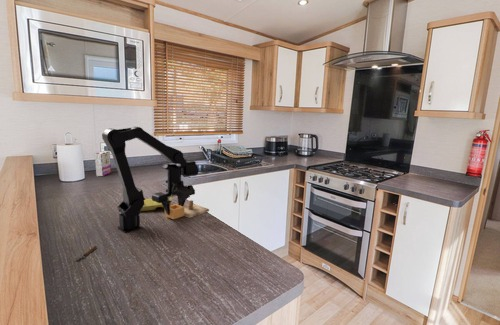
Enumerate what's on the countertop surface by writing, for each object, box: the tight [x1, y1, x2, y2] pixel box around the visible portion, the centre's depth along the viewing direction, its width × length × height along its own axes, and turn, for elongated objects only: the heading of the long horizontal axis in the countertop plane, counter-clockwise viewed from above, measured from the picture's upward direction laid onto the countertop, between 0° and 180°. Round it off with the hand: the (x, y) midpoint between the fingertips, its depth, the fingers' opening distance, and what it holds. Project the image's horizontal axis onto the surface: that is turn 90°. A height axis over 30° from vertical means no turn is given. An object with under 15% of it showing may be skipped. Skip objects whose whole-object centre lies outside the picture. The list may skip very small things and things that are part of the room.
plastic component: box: [140, 197, 173, 212], centre depth 129 cm, size 20×7×10 cm
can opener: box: [74, 245, 98, 263], centre depth 84 cm, size 9×2×1 cm, turn 169°
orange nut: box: [164, 203, 185, 220], centre depth 118 cm, size 6×6×4 cm
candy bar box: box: [94, 150, 112, 177], centre depth 188 cm, size 11×5×16 cm, turn 179°
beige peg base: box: [183, 199, 210, 219], centre depth 126 cm, size 12×12×5 cm
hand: (174, 212), depth 118 cm, fingers closed on orange nut, 6 cm apart
